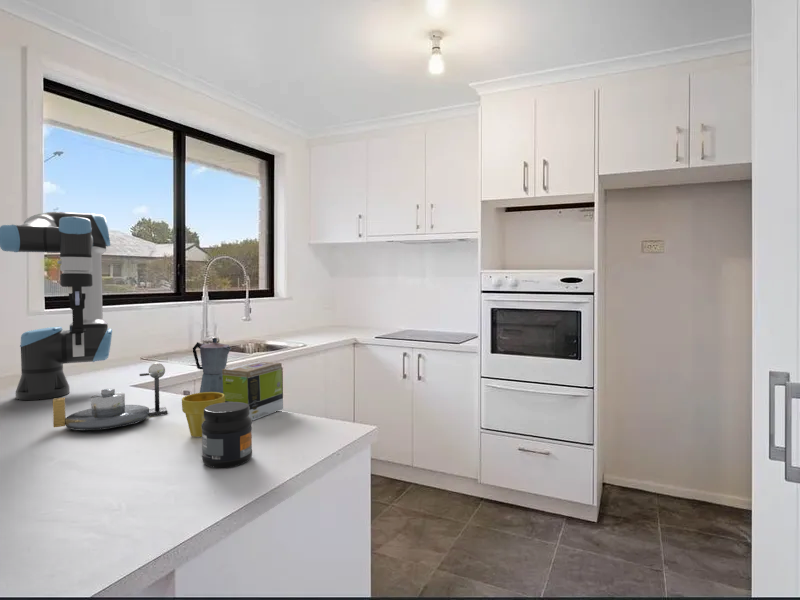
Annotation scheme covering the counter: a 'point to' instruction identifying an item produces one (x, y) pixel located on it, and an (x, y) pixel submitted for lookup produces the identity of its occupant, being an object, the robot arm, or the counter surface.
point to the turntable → (88, 422)
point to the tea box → (255, 387)
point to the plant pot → (199, 409)
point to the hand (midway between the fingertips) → (78, 356)
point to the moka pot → (212, 365)
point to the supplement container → (226, 435)
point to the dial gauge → (156, 387)
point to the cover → (108, 403)
